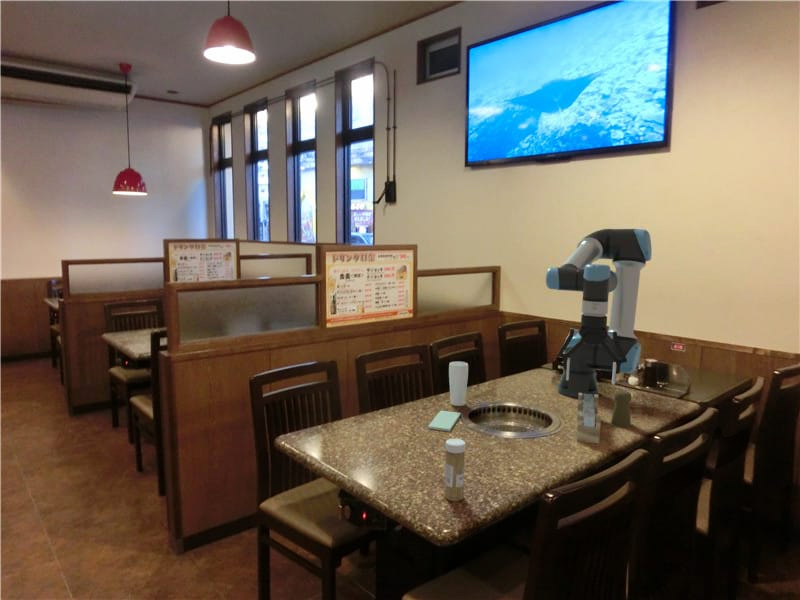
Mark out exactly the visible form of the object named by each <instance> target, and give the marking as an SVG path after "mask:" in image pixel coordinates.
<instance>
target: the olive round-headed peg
mask: <svg viewBox="0 0 800 600" xmlns="http://www.w3.org/2000/svg"><path fill="white" fill-rule="evenodd" d="M613 397H614V400H615V404H614V407H613V411H612V412H613V413H612V415H611V420H610V423H611V425H612V424H613V425H612V426H614V425H615V427H619V428H630V427H631V426H632V421H631V408H630V402H631V401H632V394H631V392H630V391H627V390H616V391H615V392H614V395H613Z"/></svg>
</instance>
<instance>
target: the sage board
mask: <svg viewBox="0 0 800 600" xmlns="http://www.w3.org/2000/svg"><path fill="white" fill-rule="evenodd" d="M461 415H462V412H456V411H449V410H448V411H446V410H439V412H438V413H437V415H436V416H435V417H434V418H433V420H432V421H431V422H430V423H429V424H428V425H427V429H429V430H437V431H443V432H449V433H450V432H451V431H452V429H453V427H454V426H455V425H456V423H457V421H458V420H459V419H460V417H461Z"/></svg>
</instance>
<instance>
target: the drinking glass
mask: <svg viewBox="0 0 800 600" xmlns="http://www.w3.org/2000/svg"><path fill="white" fill-rule="evenodd" d="M448 378H449V379H448V382H449V397H450V399H449V403H450V405H451V406H453V407H463V406H465V404H466V396H467V387H468V386H467V385H468V378H469V364H468V362H465V361H451V362H449V365H448Z"/></svg>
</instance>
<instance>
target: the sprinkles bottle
mask: <svg viewBox="0 0 800 600" xmlns="http://www.w3.org/2000/svg"><path fill="white" fill-rule="evenodd" d="M465 453H466V441H465V440H463V439H461V438H449V439H447V440H446V441H445V460H446V461H445V470H444V471H445V475H444V476H445V478H444V479H445V480H444V481H445V492H444V497H445V498H446V499H447V500H449V501H453V502H459V501H461V500H463V499H464V498H465V494H464V490H465V487H464V485H465Z"/></svg>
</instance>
